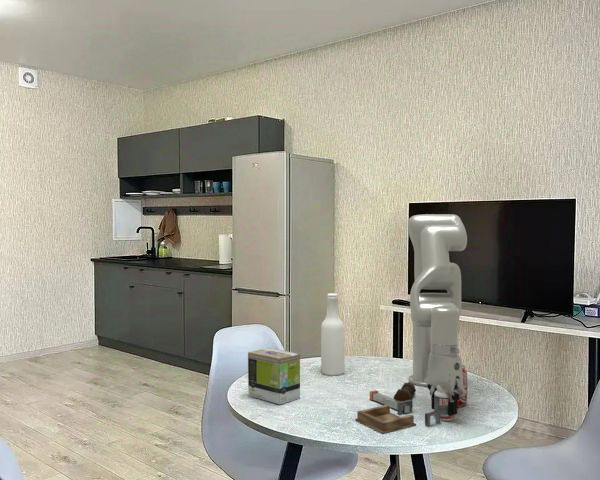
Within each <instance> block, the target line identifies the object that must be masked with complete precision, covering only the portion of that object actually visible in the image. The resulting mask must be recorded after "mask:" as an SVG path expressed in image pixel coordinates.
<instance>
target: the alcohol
mask: <svg viewBox="0 0 600 480" xmlns="http://www.w3.org/2000/svg"><path fill="white" fill-rule="evenodd" d="M338 295H339V294H338V293H334V292H333V293H332V292H331V293H330V292H329V293H327V294H326V296H327V297H326V299H327V300H326V301H327V302H326V303H327V304H326V316H325V318H324V320H323V321H322V323H321V326H320V349H321V351H320V353H321V355H320V357H321V359H320V360H321V361H320V363H321V366H320V368H321V369H320V370H321V373H322V374H323V375H325V376H329V377H330V376H332V377H336V376H341V375H343V374H344V372H345V371H346V370H345V365H346V364H345V326H344V322H343V321H342V319H341V318H340V316H339V314H340V313H339V303H338V301H339V300H338Z"/></svg>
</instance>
